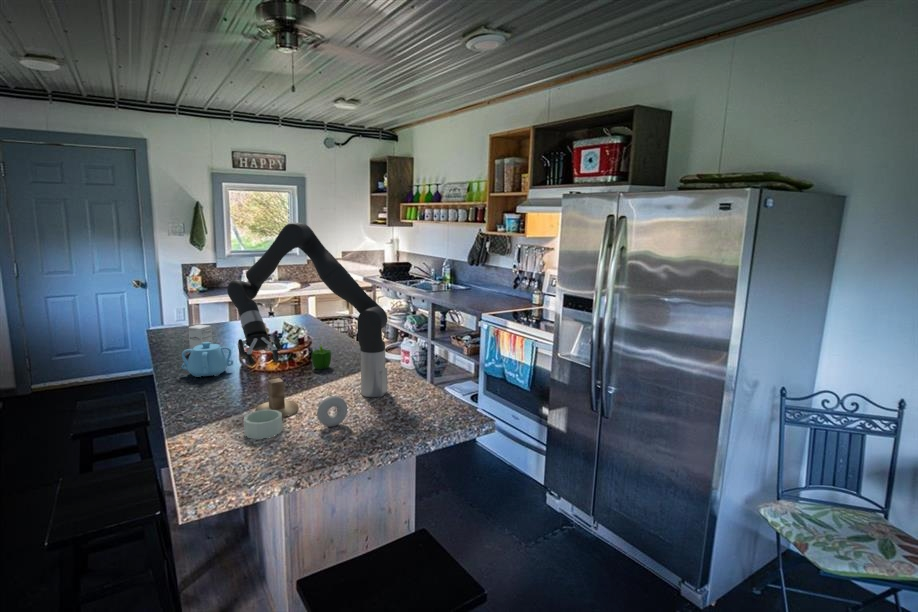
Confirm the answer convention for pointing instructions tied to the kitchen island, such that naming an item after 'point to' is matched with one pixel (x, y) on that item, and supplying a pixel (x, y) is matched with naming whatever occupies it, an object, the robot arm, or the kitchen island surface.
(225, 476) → the kitchen island surface
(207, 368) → the decorative pot
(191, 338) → the supplement box
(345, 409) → the donut
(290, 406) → the lid
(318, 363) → the bell pepper
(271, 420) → the bowl
